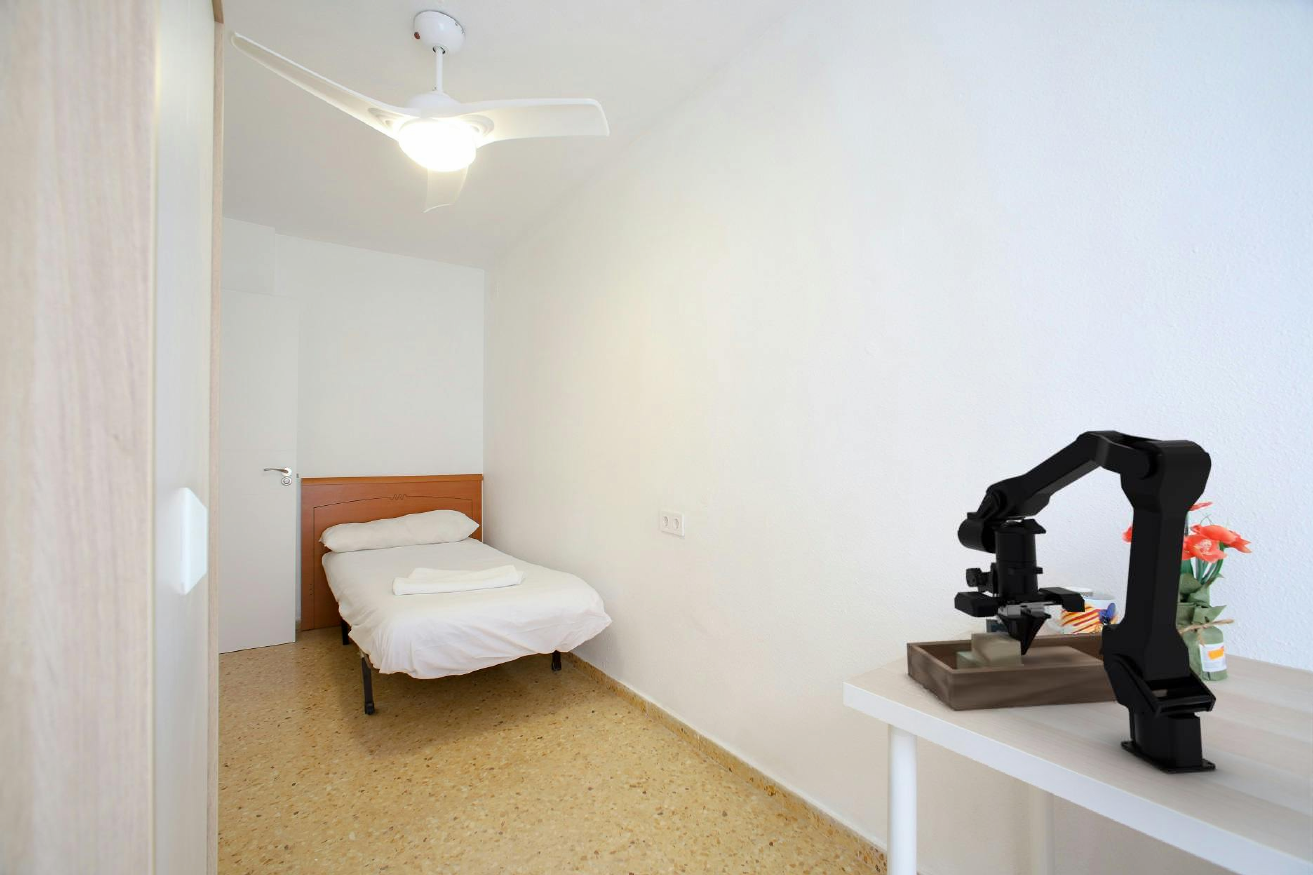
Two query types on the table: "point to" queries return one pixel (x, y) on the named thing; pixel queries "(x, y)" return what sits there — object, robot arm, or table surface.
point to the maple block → (996, 649)
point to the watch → (996, 624)
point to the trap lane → (1014, 673)
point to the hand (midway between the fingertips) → (1021, 654)
